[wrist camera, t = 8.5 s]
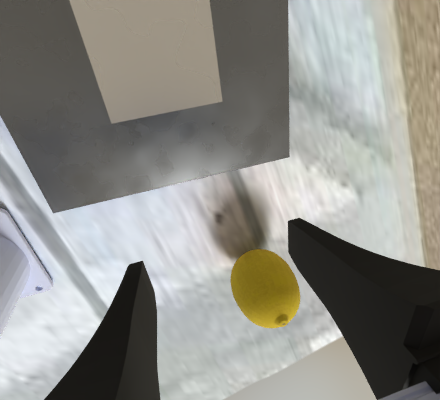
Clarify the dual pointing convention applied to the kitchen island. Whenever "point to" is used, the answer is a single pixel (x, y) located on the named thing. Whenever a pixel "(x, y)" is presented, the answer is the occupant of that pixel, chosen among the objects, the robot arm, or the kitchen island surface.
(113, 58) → the post
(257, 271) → the lemon
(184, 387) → the kitchen island surface
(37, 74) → the stand base
